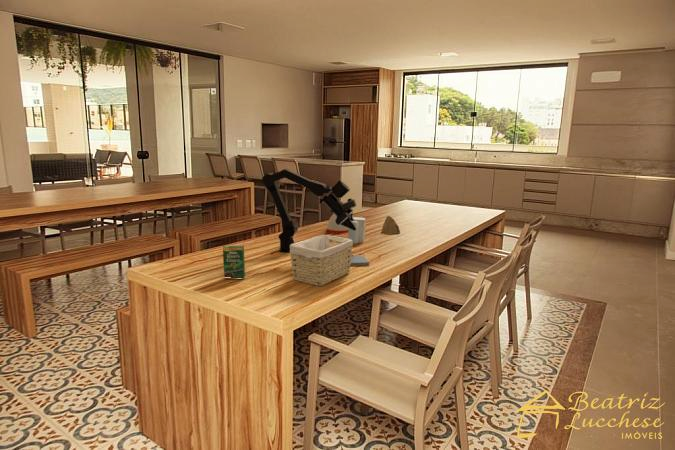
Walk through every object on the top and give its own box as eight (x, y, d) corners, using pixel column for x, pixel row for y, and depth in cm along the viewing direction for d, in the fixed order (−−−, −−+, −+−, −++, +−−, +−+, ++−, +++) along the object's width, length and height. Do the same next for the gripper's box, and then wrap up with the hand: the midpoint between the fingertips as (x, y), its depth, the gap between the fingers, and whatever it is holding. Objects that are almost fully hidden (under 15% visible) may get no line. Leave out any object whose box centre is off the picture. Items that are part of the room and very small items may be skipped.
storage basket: (320, 288, 163) (321, 250, 160) (287, 280, 172) (287, 243, 169) (353, 273, 183) (354, 239, 180) (321, 266, 192) (322, 233, 189)
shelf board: (338, 266, 192) (338, 262, 192) (333, 258, 204) (333, 255, 203) (368, 265, 194) (369, 262, 194) (362, 258, 206) (362, 255, 206)
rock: (404, 228, 264) (390, 224, 270) (402, 219, 258) (387, 214, 264) (395, 241, 259) (381, 236, 265) (392, 231, 253) (378, 227, 259)
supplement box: (363, 243, 235) (364, 220, 233) (349, 241, 237) (350, 219, 234) (365, 239, 243) (366, 217, 240) (351, 238, 244) (352, 216, 241)
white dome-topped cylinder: (349, 243, 206) (349, 222, 204) (347, 241, 211) (348, 220, 209) (358, 243, 207) (359, 222, 205) (356, 241, 211) (357, 220, 209)
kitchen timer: (336, 227, 273) (336, 203, 270) (354, 230, 265) (355, 206, 262) (322, 231, 262) (323, 206, 259) (341, 234, 254) (341, 209, 251)
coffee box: (223, 279, 170) (222, 246, 168) (224, 277, 173) (224, 245, 170) (243, 280, 170) (243, 247, 168) (245, 277, 173) (244, 245, 170)
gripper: (343, 195, 196) (366, 221, 196) (349, 191, 214) (370, 214, 214) (325, 212, 199) (348, 237, 199) (333, 205, 217) (354, 229, 217)
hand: (356, 228), depth 207 cm, fingers closed on white dome-topped cylinder, 4 cm apart
